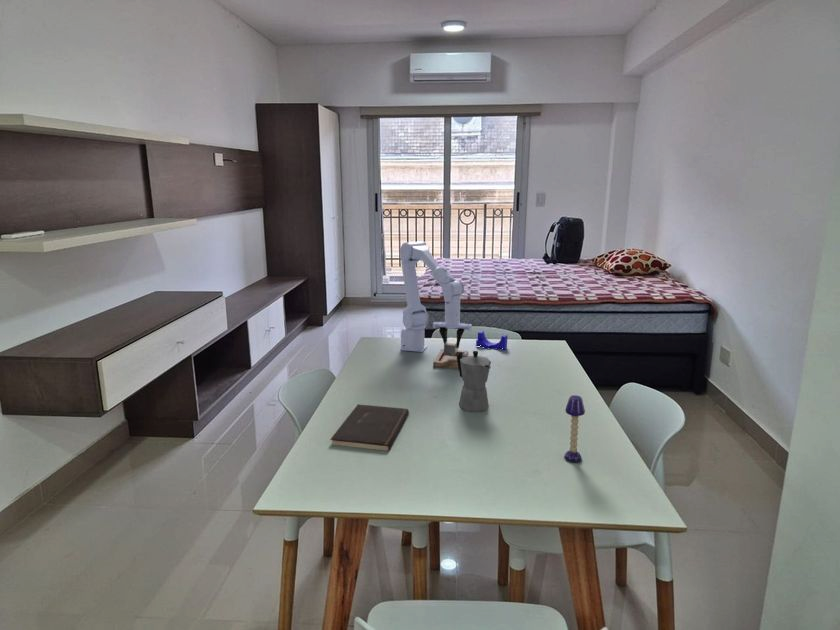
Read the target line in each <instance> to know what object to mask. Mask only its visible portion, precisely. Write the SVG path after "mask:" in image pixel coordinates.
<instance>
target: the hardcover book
mask: <svg viewBox="0 0 840 630" xmlns="http://www.w3.org/2000/svg"><path fill="white" fill-rule="evenodd" d="M409 415H410V410H409V409H408V408H403V407H402V408H401V407H392V406H391V407H390V406H383V405H382V406H379V405H371V404H370V405H369V404H359V403H358V404H356V406H355V408H354V409H353V410H352V411H351V412H350V414H349V415H348V416H347V417H346V419H345V420H343V422H342V424H340V426H339V427H338V429H337V430H336V431H335V433H334V434H333V435H332V436H331V438H330V441H332V442H331V445H332V446H341V447H342V446H343V447H351V448H359V449H367V450H368V449H369V450H377V451H387V452H389V451H390V449H391V448H392V446H393V445H394V443H395V441H396V439H397V437H398V435H399V433H400V432H401V429H402V428H403V427H404V426H403V425H404V424H405V422H406V421H407V418H408V416H409Z"/></svg>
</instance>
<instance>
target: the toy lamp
mask: <svg viewBox="0 0 840 630" xmlns="http://www.w3.org/2000/svg"><path fill="white" fill-rule="evenodd" d="M564 412H565V413H566V415H567V414H568V415H569V416H571V420H570V423H571V424H570V429H571V430H570V435H569V436H570V437H569V438H570V442H569V445H570V447H569V450H567V451H566V452H565V453H564V457H563V458H564V460H565V461H567V462H569V463H574V464H577V463H580V462H582V454H581V453H580V452H579V451H578V433H579V432H578V431H579V430H578V429H579V417H580V416H583V415H585V414H586V410H585V406H584V401H583V398H582V396H581V395H576V394H574V395H571V396H569V398H568V401H567V403H566V406H565V411H564Z"/></svg>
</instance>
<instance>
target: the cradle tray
mask: <svg viewBox="0 0 840 630" xmlns="http://www.w3.org/2000/svg"><path fill="white" fill-rule="evenodd" d="M460 352H462V353H464V354H468V355H469V351H468V350H459V349H458V350H457V352H456V355H455V356H446V355H444V348H441V349H440V351H439V352H438V354H437V355H436V357H435V359H434V360H433V363H432V366H433V368H439V369H440V368H442V369H452V370H459V368H458V363H457V355H458V354H459V353H460Z"/></svg>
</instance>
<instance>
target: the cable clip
mask: <svg viewBox="0 0 840 630" xmlns="http://www.w3.org/2000/svg"><path fill="white" fill-rule="evenodd" d="M480 345H481V346H480ZM476 346H480V347H484V348H483V349H486V348H490V349H493V348H497V349H496V350H499V349H502V348H503V349H502V350H501V351H506V350H507V349H508V334H503V335H501V337H500V340H499V342H497V343H496V342H491V341H489V340H488V339H487V337H486V335H485V331H483V330H480V331H478V332H477V339H476V340H475V347H476ZM480 347H479V348H480ZM506 348H507V349H506Z"/></svg>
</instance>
